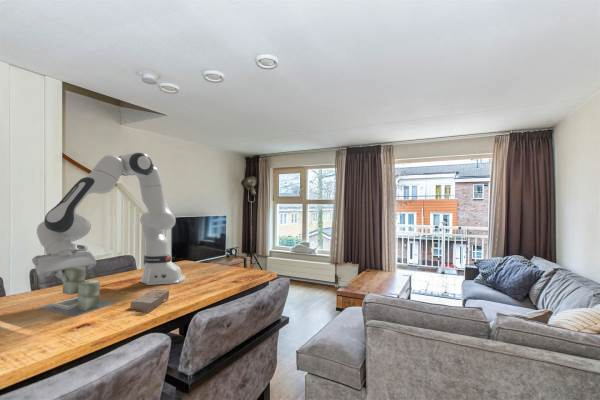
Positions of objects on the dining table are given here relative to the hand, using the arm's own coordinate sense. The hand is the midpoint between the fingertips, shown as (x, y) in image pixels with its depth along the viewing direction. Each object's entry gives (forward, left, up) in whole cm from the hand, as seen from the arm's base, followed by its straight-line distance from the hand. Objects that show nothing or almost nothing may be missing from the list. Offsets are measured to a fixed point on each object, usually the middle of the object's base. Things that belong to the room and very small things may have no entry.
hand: (75, 279), depth 115 cm
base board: (-2, +1, -11) cm, 12 cm away
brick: (-29, 0, -12) cm, 31 cm away
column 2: (-7, +4, -10) cm, 13 cm away
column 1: (+1, 0, -5) cm, 5 cm away
